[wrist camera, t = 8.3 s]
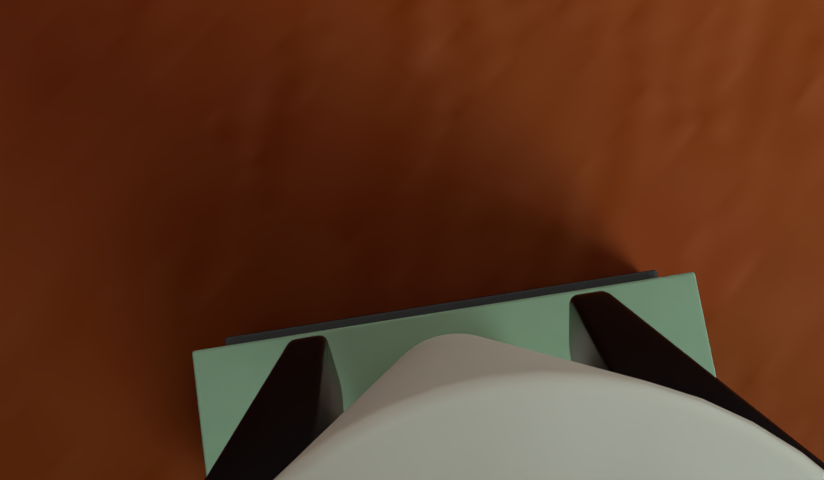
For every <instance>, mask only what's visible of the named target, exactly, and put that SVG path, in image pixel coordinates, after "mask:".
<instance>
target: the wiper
mask: <svg viewBox="0 0 824 480" xmlns="http://www.w3.org/2000/svg"><path fill="white" fill-rule="evenodd" d="M596 291H605V292H608V293H610V294H611V295H612V296H614V297H615V298H616V299H618V300H619V301H620V302H621V303H623V304H624V305H625V306H626V307H628V308H629V309H630V310H631V311H633V312H634V313H635V314H636V315H638V316H639V317H640V318H642V319H643V320H644V321H645V322H647V323H648V324H649V325H650V326H652V327H653V328H654V329H655V330H657V331H658V332H659V333H660V334H662V335H663V336H664V337H665V338H667V339H668V340H669V341H671V342H672V343H673V344H674V345H676V346H677V347H678V348H679V349H681V350H682V351H683V352H684V353H686V354H687V355H688V356H689V357H691V358H692V359H693V360H695V361H696V362H697V363H698V364H700V365H701V366H702V367H703V368H705V369H706V370H707V371H708V372H710V373H711V374H712V375H713V376H715V377H716V374H715V369H714V364H713V359H712V354H711V349H710V345H709V340H708V335H707V330H706V325H705V321H704V316H703V311H702V306H701V301H700V296H699V292H698V287H697V282H696V277H695V274H694V273H692V272H690V273H684V274H677V275H671V276H665V277H658V275H657V272H656V270H650V271H644V272H637V273H631V274H625V275H618V276H612V277H606V278H599V279H593V280H587V281H581V282H574V283H568V284H562V285H555V286H549V287H543V288H536V289H530V290H524V291H517V292H511V293H505V294H498V295H492V296H486V297H479V298H473V299H467V300H460V301H454V302H448V303H441V304H435V305H429V306H422V307H416V308H410V309H403V310H397V311H391V312H384V313H378V314H372V315H365V316H359V317H353V318H346V319H340V320H334V321H327V322H321V323H315V324H308V325H302V326H296V327H289V328H283V329H277V330H271V331H264V332H258V333H252V334H245V335H239V336H233V337H227V338H225V346H221V347H215V348H209V349H202V350H196V351H193V353H192V357H193V366H194V375H195V383H196V392H197V401H198V409H199V418H200V426H201V435H202V444H203V452H204V461H205V470H206V477H207V475H208V473H209V472H210V470H211V469H212V467H213V465H214V464H215V462H216V460H217V459H218V457H219V455H220V454H221V452H222V451H223V449H224V447H225V446H226V444H227V442H228V441H229V439H230V437H231V436H232V434H233V433H234V431H235V429H236V428H237V426H238V424H239V423H240V421H241V419H242V418H243V416H244V415H245V413H246V411H247V410H248V408H249V406H250V405H251V403H252V401H253V400H254V398H255V397H256V395H257V393H258V392H259V390H260V388H261V387H262V385H263V383H264V382H265V380H266V379H267V377H268V375H269V374H270V372H271V370H272V369H273V367H274V366H275V364H276V362H277V361H278V359H279V357H280V356H281V354H282V352H283V351H284V349H285V348H286V346H287V344H288V343H289V342H290V341H292V340H294V339H298V338H305V337H311V336H317V335H321V336H324V337H325V338H326V339H327V341H328V343H329V346H330V350H331V353H332V356H333V360H334V363H335V366H336V370H337V373H338V376H339V380H340V384H341V389H342V396H343V408H344V413H343V414H341V415H340V416H339V417H338V418H337V419H336V420H335V421H334V422H333V423H332V424H331V425H330V426H329V427H328V428H327V429H326V430H325V431H324V432H323V433H322V434H321V435H320V436H319V437H317V438H316V439H315V440H314V441H313V442H312V443H311V444H310V445H309V446H308V447H307V448H306V449H305V450H304V451H303V452H302V453H301V454H300V455H299V456H298V457H297V458H296V459H295V460H294V461H292V462H291V463H290V464H289V465H288V466H287V467H286V468H285V469H284V470H283V471H282V472H281V473H280V474H279V475H278V476H277V477H276V478H275V479H274V480H824V470H823V469H822V468H821V467H819V466H818V465H817V464H816V463H814V462H813V461H812V460H811V459H809V458H808V457H807V456H806V455H804V454H803V453H802V452H801V451H799V450H797V449H796V448H794V447H792V446H791V445H789V444H788V443H786V442H784V441H783V440H781V439H780V438H778V437H776V436H775V435H773V434H772V433H770V432H768V431H767V430H765V429H763V428H762V427H760V426H759V425H757V424H755V423H754V422H752V421H750V420H748V419H745V418H743V417H741V416H739V415H737V414H735V413H732V412H730V411H728V410H726V409H724V408H721V407H719V406H717V405H715V404H713V403H711V402H708V401H706V400H704V399H702V398H699V397H696V396H693V395H689V394H686V393H683V392H680V391H677V390H673V389H670V388H667V387H664V386H661V385H657V384H654V383H651V382H648V381H644V380H640V379H637V378H633V377H629V376H625V375H622V374H618V373H614V372H610V371H607V370H603V369H599V368H596V367H592V366H588V365H584V364H581V363H577V362H573V361H571V357H570V351H569V303H570V299H571V298H572V297H573V296H574V295H577V294H583V293H590V292H596Z"/></svg>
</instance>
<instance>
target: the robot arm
mask: <svg viewBox="0 0 824 480" xmlns="http://www.w3.org/2000/svg"><path fill="white" fill-rule="evenodd" d="M569 351H570V357H571V361H573V362H577V363H581V364H584V365H588V366H592V367H596V368H599V369H603V370H607V371H610V372H614V373H618V374H622V375H625V376H629V377H633V378H637V379H640V380H644V381H648V382H651V383H654V384H657V385H661V386H664V387H667V388H670V389H673V390H677V391H680V392H683V393H686V394H689V395H693V396H696V397H699V398H702V399H704V400H706V401H708V402H711V403H713V404H715V405H717V406H719V407H721V408H724V409H726V410H728V411H730V412H732V413H735V414H737V415H739V416H741V417H743V418H745V419H748V420H750V421H752V422H754V423H755V424H757V425H759V426H760V427H762V428H763V429H765V430H767V431H768V432H770V433H772V434H773V435H775V436H776V437H778V438H780V439H781V440H783V441H784V442H786V443H788V444H789V445H791V446H792V447H794V448H796V449H797V450H799V451H801V452H802V453H803V454H804V455H806V456H807V457H808V458H809V459H811V460H812V461H813V462H814V463H816V464H817V465H818V466H819V467H821V468H822V469H823V470H824V463H823V462H822V461H821V460H819V459H818V458H817V457H816V456H814V455H813V454H812V453H811V452H809V451H808V450H807V449H806V448H804V447H803V446H802V445H801V444H799V443H798V442H797V441H795V440H794V439H793V438H792V437H790V436H789V435H788V434H787V433H785V432H784V431H783V430H782V429H780V428H779V427H778V426H777V425H775V424H774V423H773V422H771V421H770V420H769V419H768V418H766V417H765V416H764V415H763V414H761V413H760V412H759V411H758V410H756V409H755V408H754V407H753V406H751V405H750V404H749V403H748V402H746V401H745V400H744V399H742V398H741V397H740V396H739V395H737V394H736V393H735V392H734V391H732V390H731V389H730V388H729V387H727V386H726V385H725V384H724V383H722V382H721V381H720V380H718V379H717V378H716V377H715V376H713V375H712V374H711V373H710V372H708V371H707V370H706V369H705V368H703V367H702V366H701V365H700V364H698V363H697V362H696V361H695V360H693V359H692V358H691V357H689V356H688V355H687V354H686V353H684V352H683V351H682V350H681V349H679V348H678V347H677V346H676V345H674V344H673V343H672V342H671V341H669V340H668V339H667V338H665V337H664V336H663V335H662V334H660V333H659V332H658V331H657V330H655V329H654V328H653V327H652V326H650V325H649V324H648V323H647V322H645V321H644V320H643V319H642V318H640V317H639V316H638V315H636V314H635V313H634V312H633V311H631V310H630V309H629V308H628V307H626V306H625V305H624V304H623V303H621V302H620V301H619V300H618V299H616V298H615V297H614V296H612V295H611V294H610V293H608V292H605V291H596V292H590V293H583V294H577V295H574V296H573V297H572V298H571V299H570V303H569ZM343 413H344V408H343V396H342V389H341V384H340V380H339V376H338V373H337V370H336V366H335V363H334V360H333V356H332V353H331V350H330V346H329V343H328V341H327V339H326V338H325V337H324V336H321V335H317V336H311V337H305V338H298V339H294V340H292V341H290V342H289V343H288V344H287V346H286V348H285V349H284V351H283V352H282V354H281V356H280V357H279V359H278V361H277V362H276V364H275V366H274V367H273V369H272V370H271V372H270V374H269V375H268V377H267V379H266V380H265V382H264V383H263V385H262V387H261V388H260V390H259V392H258V393H257V395H256V397H255V398H254V400H253V401H252V403H251V405H250V406H249V408H248V410H247V411H246V413H245V415H244V416H243V418H242V419H241V421H240V423H239V424H238V426H237V428H236V429H235V431H234V433H233V434H232V436H231V437H230V439H229V441H228V442H227V444H226V446H225V447H224V449H223V451H222V452H221V454H220V455H219V457H218V459H217V460H216V462H215V464H214V465H213V467H212V469H211V470H210V472H209V473H208V475H207V477H206V478H205V480H274V479H275V478H276V477H277V476H278V475H279V474H280V473H281V472H282V471H283V470H284V469H285V468H286V467H287V466H288V465H289V464H290V463H291V462H292V461H294V460H295V459H296V458H297V457H298V456H299V455H300V454H301V453H302V452H303V451H304V450H305V449H306V448H307V447H308V446H309V445H310V444H311V443H312V442H313V441H314V440H315V439H316V438H317V437H319V436H320V435H321V434H322V433H323V432H324V431H325V430H326V429H327V428H328V427H329V426H330V425H331V424H332V423H333V422H334V421H335V420H336V419H337V418H338V417H339V416H340V415H341V414H343Z"/></svg>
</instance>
